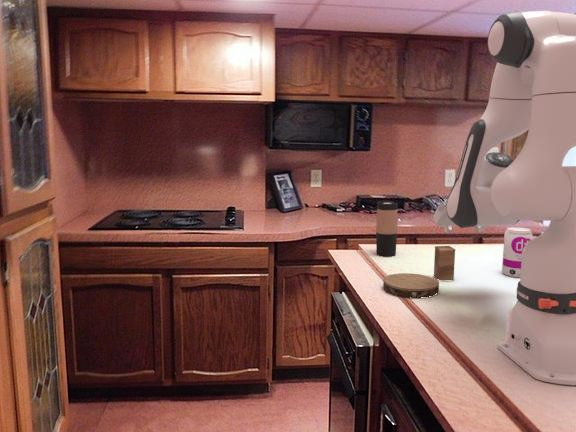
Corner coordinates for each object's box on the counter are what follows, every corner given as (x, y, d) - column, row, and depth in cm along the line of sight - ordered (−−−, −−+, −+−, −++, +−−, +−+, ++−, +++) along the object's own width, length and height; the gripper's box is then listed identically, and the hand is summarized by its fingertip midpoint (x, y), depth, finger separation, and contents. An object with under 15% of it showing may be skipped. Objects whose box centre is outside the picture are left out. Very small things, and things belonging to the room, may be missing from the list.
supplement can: (532, 278, 158) (536, 232, 155) (504, 277, 159) (507, 231, 157) (525, 271, 165) (529, 227, 163) (499, 270, 167) (502, 226, 165)
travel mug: (374, 256, 187) (375, 203, 184) (377, 251, 194) (378, 200, 191) (395, 257, 185) (397, 204, 181) (397, 253, 192) (398, 201, 189)
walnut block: (453, 280, 157) (455, 249, 155) (439, 281, 156) (440, 249, 154) (447, 276, 161) (449, 245, 160) (433, 276, 161) (434, 246, 159)
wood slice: (445, 287, 150) (445, 278, 150) (428, 303, 137) (429, 292, 137) (394, 279, 159) (395, 270, 158) (374, 293, 146) (374, 283, 145)
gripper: (444, 210, 133) (430, 240, 144) (518, 208, 135) (499, 238, 145) (438, 192, 137) (425, 223, 148) (510, 190, 139) (492, 221, 149)
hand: (462, 230), depth 147 cm, fingers open, 8 cm apart
